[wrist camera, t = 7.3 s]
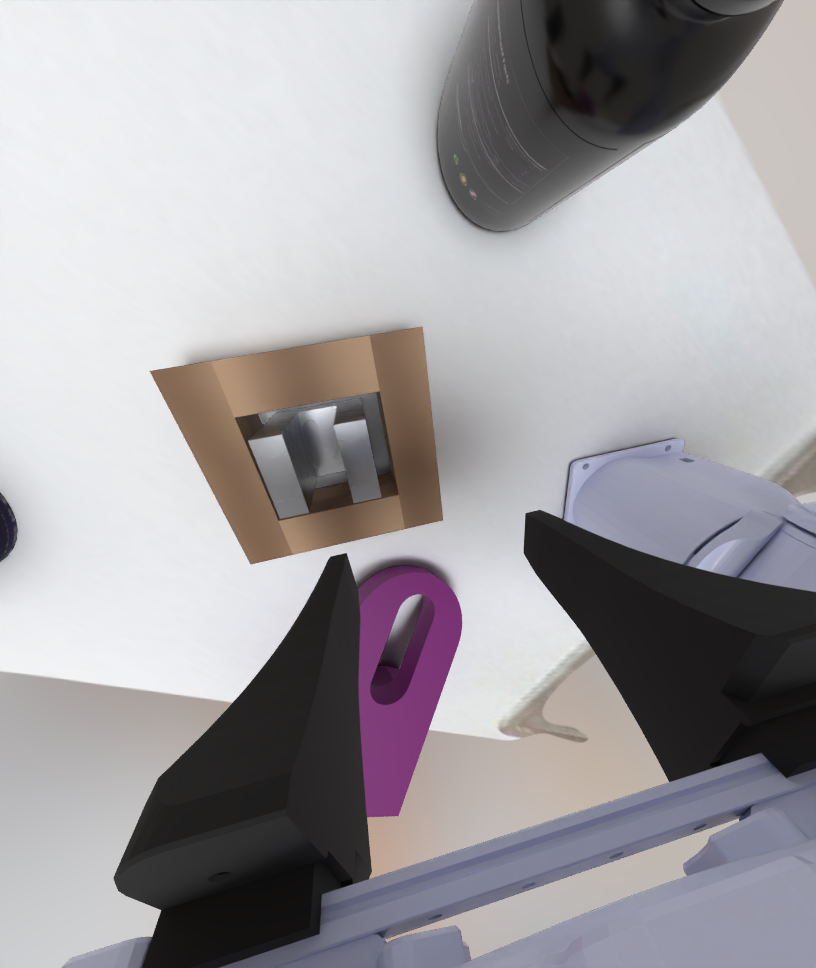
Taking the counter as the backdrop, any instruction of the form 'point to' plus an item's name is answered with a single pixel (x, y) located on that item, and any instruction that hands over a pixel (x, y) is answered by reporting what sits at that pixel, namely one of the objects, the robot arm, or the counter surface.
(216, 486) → the well block
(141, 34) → the counter surface
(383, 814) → the mounting bracket
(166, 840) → the robot arm
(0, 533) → the dark blue ribbed cylinder
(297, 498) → the bracket
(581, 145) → the supplement bottle
